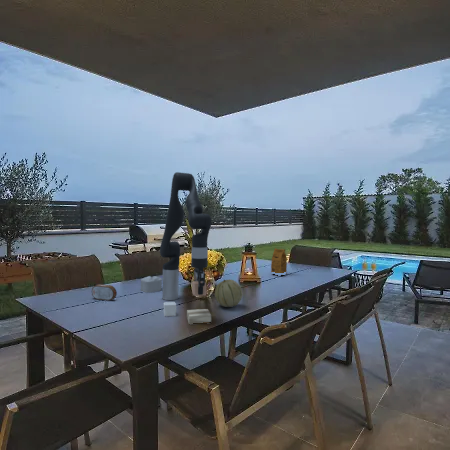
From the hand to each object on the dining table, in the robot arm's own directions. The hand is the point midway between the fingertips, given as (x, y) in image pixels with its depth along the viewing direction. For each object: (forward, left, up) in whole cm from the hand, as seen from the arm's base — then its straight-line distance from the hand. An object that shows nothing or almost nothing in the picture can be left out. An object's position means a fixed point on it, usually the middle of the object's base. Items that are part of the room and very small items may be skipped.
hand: (199, 292), depth 151 cm
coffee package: (-96, +87, -13) cm, 130 cm away
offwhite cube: (-12, -12, -13) cm, 21 cm away
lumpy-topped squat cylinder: (-65, -17, -13) cm, 68 cm away
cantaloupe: (-18, +20, -13) cm, 30 cm away
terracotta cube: (0, 0, -1) cm, 1 cm away
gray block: (0, 0, -13) cm, 13 cm away
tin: (-48, -45, -13) cm, 67 cm away
